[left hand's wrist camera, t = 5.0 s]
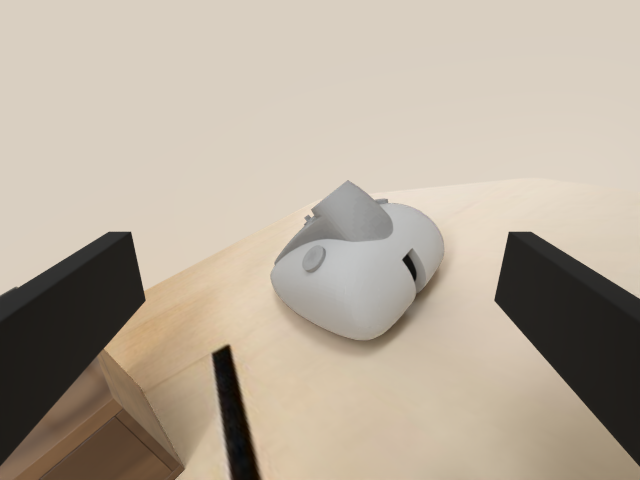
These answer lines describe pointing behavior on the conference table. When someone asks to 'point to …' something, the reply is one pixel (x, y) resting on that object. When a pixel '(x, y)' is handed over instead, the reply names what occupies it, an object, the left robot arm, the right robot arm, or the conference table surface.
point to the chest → (122, 441)
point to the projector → (357, 263)
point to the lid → (65, 423)
